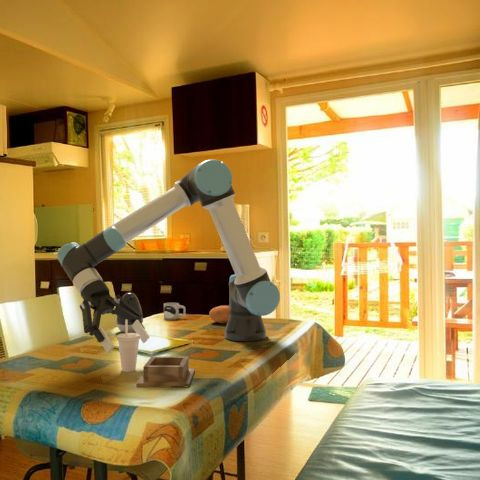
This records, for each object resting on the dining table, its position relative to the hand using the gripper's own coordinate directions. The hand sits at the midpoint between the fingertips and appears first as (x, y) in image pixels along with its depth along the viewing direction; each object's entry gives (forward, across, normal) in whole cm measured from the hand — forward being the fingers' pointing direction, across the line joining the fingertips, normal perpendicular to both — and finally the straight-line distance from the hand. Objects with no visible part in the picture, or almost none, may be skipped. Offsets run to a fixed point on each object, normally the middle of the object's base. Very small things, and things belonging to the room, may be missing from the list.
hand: (129, 345), depth 130 cm
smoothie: (+5, 0, -6) cm, 7 cm away
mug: (-24, -70, -34) cm, 82 cm away
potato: (-7, -72, -17) cm, 74 cm away
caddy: (+15, 0, +5) cm, 15 cm away
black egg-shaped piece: (-22, -39, -32) cm, 55 cm away
